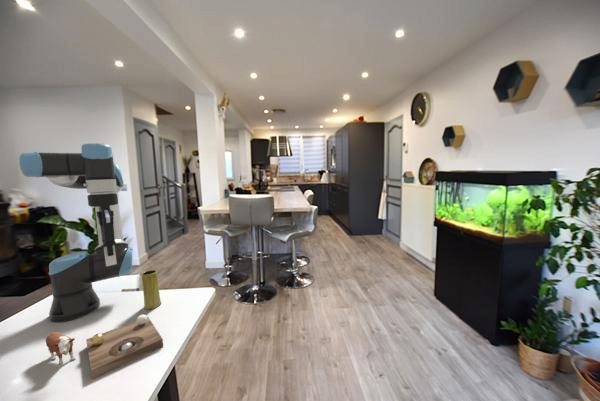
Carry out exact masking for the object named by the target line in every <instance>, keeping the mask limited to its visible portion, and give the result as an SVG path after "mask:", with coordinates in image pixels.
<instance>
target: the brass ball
mask: <svg viewBox="0 0 600 401" xmlns="http://www.w3.org/2000/svg"><path fill="white" fill-rule="evenodd" d="M91 338H92V339H91V344H92V345H94V346H97V345H100V344H101V343H102V342H103V341H104V335H103V334H102V333H96V334H94V335H93V336H92V337H91Z"/></svg>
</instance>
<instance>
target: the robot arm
mask: <svg viewBox="0 0 600 401" xmlns="http://www.w3.org/2000/svg"><path fill="white" fill-rule="evenodd" d="M80 148H81V153H80V152H65V153H64V152H38V151H33V152H22V153H21V154H19V158H18V160H19V162H18V163H19V167H20V171H21V173H22V175H23V176H24V177H27V178H47V179H48V180H49V182H51V183H52V184H54V185H55V186H59V187H62V188H63V187H64V188H68V189H77V190H84V189H85V190H86V193H87V203H88V207H92V208H93V207H94V208H95V219H96V227H97V228H96V229H97V230H96V231H97V238H98V239H97V240H98V245H97V246H96V247H95V248H94V252H93V253H89V252H88V250H86V251H85V250H83V251H75V252H71V253H68V254H66V255H61V256H60V257H57V258H55V259H53V260H52V261H51V262H50V263H49V265H48V269H49V271H48V272H49V273H48V275H49V278H50V284H51V291H52V292H51V293H52V301H51V302H52V303H51V306H50V310H49V314H48V316H49V320H50V322H53V323H62V322H68V321H72V320H76V319H78V318H82V317H85V316H87V315H89V314H91V313H92V312H94V311H96V310H98V309H99V307H100V306H101V300H100V298H99V296H98V294H97V293H96V291H95V290H94V287H93V283H95V282H101V281H104V280H109V279H114V278H117V277H118V278H120V277H122V276H126V275H128V274H130V273H131V272H132V270H133V247H132V246H129V243H128V242H126V241H124V236H123V228H122V220H121V214H120V204H119V197H118V196H119V195H118V193H119V192H120V191H121V188H122V187H124V186H125V183H124V180H123V175H122V171H121V169H120V167H119V165H118V164H117V163H114V153H113V149H112V148H113V147H112V146H111V145H109V144H106V143H96V142H95V143H91V142H90V143H84V144H81V146H80Z"/></svg>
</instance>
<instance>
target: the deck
mask: <svg viewBox="0 0 600 401" xmlns="http://www.w3.org/2000/svg"><path fill="white" fill-rule="evenodd" d="M101 334H103V335H104V341H103V342H102V343H101V344H100V345H97V346H94V345H92V344H91V339H92V337H89V338H86V341H85V342H86V348H87V354H88V361H89V368H90V373H91V379H92V380H94V379H97V378H99V377H100V376H103V375H104V374H107V373H109V372H112V371H114V370H115V369H118V368H120V367H122V366H125V365H126V364H128V363H130V362H133V361H135V360H137V359H140V358H141V357H143V356H145V355H148V354H150V353H152V352H154V351H157V350H159V349H161V348H163V347H164V341H163V340H164V339H163V338H162V335H160V332H159V331H158V330H157V329H156V327H155V325H154V323H153V322H152V320H151V319H150V317H149V316H147V322H146V323H145V324H143V325H139V324H137V322H136V320H135V321H132V322H129V323H127V324H124V325H122V326H118V327H115V328H113V329H111V330H108V331H105V332H103V333H101ZM127 342H130V343H132V344H133V347H132V348H131V349H128V350H126V351H120V349H121V347H122V345H123V344H125V343H127Z"/></svg>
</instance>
